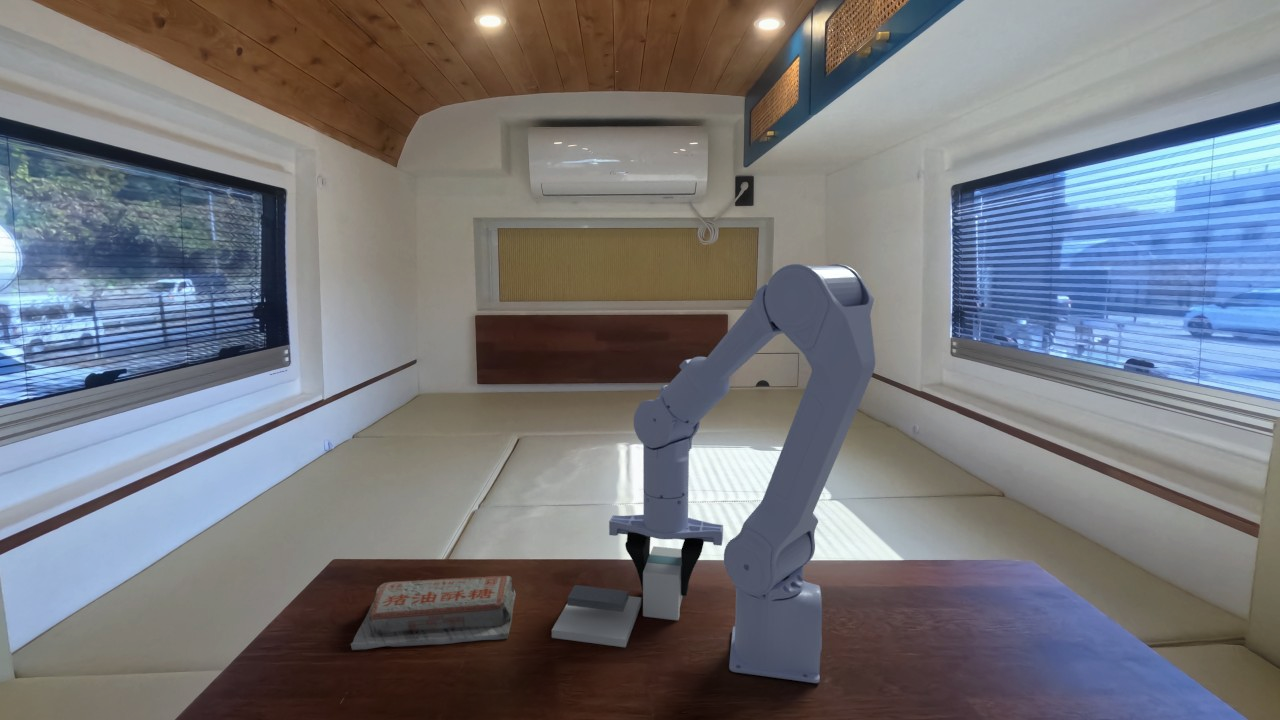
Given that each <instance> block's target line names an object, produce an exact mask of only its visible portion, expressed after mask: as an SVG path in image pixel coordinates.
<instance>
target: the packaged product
mask: <svg viewBox="0 0 1280 720" xmlns="http://www.w3.org/2000/svg"><path fill="white" fill-rule="evenodd" d="M512 580H513V579H512V577H511V575H510V576H509V575H500V576H498V575H496V576H495V575H490V576H473V577H472V576H471V577H468V576H467V577H453V578H439V579H438V578H437V579H424V580H423V579H422V580H421V579H420V580H419V579H418V580H404V581H402V580H401V581H399V580H398V581H388V582H384V583H383V582H382V584H380V585H379V586H377V588H376V593H375V596H374V598H373V601H372V604H371V606H370V608H369V609H368V612H367V614H366V615H365V618H364V620H363V621H362V622H361V625H360V627H359V628H358V630H357V632H356V634H355V635H354V637H353V641H352V642H351V643H350V646H351V650H352V651H355V650H356V651H357V650H358V651H360V650H369V649H376V648H382V647H384V648H385V647H393V648H394V647H412V646H427V645H429V646H430V645H432V646H433V645H446V644H449V645H450V644H456V643H458V644H459V643H463V642H464V643H466V642H467V643H468V642H469V643H470V642H476V641H493V640H505V639H508V638H509V634H510V629H511V625H512V620H513V610H514V605H515V599H516V591H515V589H514V588H513V587H512V586H513V583H512Z"/></svg>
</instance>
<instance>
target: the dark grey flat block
mask: <svg viewBox="0 0 1280 720" xmlns="http://www.w3.org/2000/svg"><path fill="white" fill-rule="evenodd" d="M629 594H630V593H629V590H622V589H615V588H614V589H613V588H604V587H595V586H588V585H587V586H586V585H577V584H575V585H574V586H573V588H572V590H571V591H570V593H569V594H568V596H567V598H566V599H567V602H566V604H567V603H568V605H569V606H578V607H586V608H594V609H602V610H611V611H619V612H623V611H624V608H625V606H626V603H627V601H628V599H629V596H630V595H629Z"/></svg>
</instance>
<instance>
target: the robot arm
mask: <svg viewBox="0 0 1280 720" xmlns="http://www.w3.org/2000/svg"><path fill="white" fill-rule="evenodd" d="M874 301H875V299H874V297H873V295H872V293H871V291H870V290H869V288H868V286H867V285H866V283H865V281H864V279H863V278H862V277H861V275H860V274H859V273H858V272H857V270H855V269H853V268H852V267H850V266H848V265H846V264H841V263H839V264H838V263H834V264H828V265H805V264H800V263H793V264H791V263H790V264H788V265H787V264H786V265H785V266H782V267H781V268H779V269H778V270H776V271H775V272H774V273H773V274H772V276H771V278H769V280H768V282H767V283H765V284H764V285H762V286H761V287H760V288H758V289H757V290H756V291H755V294H754V297H753V299H752V301H751V303H750V304H749V306H748V307H747V308H746V309H745V310H744V312H743V313H742V314H741V316H740V317H739V318H738V319H737V320H736V322H734V324H733V325H732V326H731V328H729V330H728V331H727V332H726V334H725V335H724V336H723V337H722V338H721V340H720V341H719V342H718V343H717V345H716V346H715V347H714V349H712V350H711V351H710V353H709V354H708V356H707V357H706V356H695V357H693V358H687V359H684V360H683V361H682V362H681V363H680V364H679V368H680V371H679V372H678V373H677V374H676V375H675V377H674V378H673V379H672V380H671V381H670V382H669V384H666V385H663V386H662V387H660V389H659V394H658V395H657V397H656V398H655V399H647V400H643V401H641V402H640V403H639V404H638V406H637V408H636V409H635V412H634V416H633V428H634V432H635V435H636V437H637V438H638V440H639V441H640V442H641V443H642V444H643V463H642V464H643V465H642V466H643V467H642V468H643V470H642V471H643V481H642V482H643V485H642V486H643V488H642V489H643V514H633V515H631V514H630V515H629V514H628V515H612V516H611V517H610V520H609V521H608V529H609V530H608V531H609V533H608V535H609V536H614V537H615V536H618V535H619V534H621V535H626V542H625V544H624V546H625V550H626V551H627V554H628V555H629V556H630V559H631V560H632V562H633V564H634V566H635V569H636V571H637V574H638V575H637V576H638V578H639V582H640V586H641V591H642V592H643V571H644V568H645V566H646V563H647V560H648V557H649V555H650V553H651V538H654V539H657V540H683V543H682V546H681V548H680V549H681V557H682V582H681V595H682V596H684V597H686V596H687V595H688V592H689V584H690V580H691V576H692V573H693V570H694V568H695V567H696V564H697V563H698V560H699V559H700V557H701V555H702V552H703V548H704V543H705V542H706V543H712V545H714V546H719V547H720V546H722V545H723V539H724V525H723V524H717V523H711V522H708V521H703V520H698V519H695V518H691V517H689V476H690V475H689V469H690V468H689V465H690V463H689V461H690V451H691V449H692V447H693V445H692V443H693V442H692V441H693V438H694V437H695V435H696V434H697V432H698V430H699V428H700V423H701V422H700V421H701V420H702V419H703V418H704V417H705V416H706V415H707V414H708V413H710V412H711V410H712V409H713V408H714V407H715V406H716V405H718V403H719V402H721V401H722V400H723V399H724V398H725V397H726V395H727V394H729V392H730V388H731V382H730V377H731V376H732V375H734V373H736V371H738V370H739V369H741V367H742V366H743V365H745V364H746V363H747V362H748V361H749V360H750V359H751V358H752V357H754V356H755V354H757V353H758V352H759V351H760V350H762V348H763V347H764V346H766V345H767V344H768V343H769V342H771V340H773V339H774V338H775V337H776V336H778V335H781V334H784V335H785V336H786V337H787V338H788V339H789V340H790V342H791V343H792V344H793V345H795V346H796V347H797V349H798V350H799V351H800V352H801V353H802V354H803V356H804V357H805V359H806V361H807V362H808V364H809V366H810V368H811V373H810V376H809V379H808V381H807V384H806V387H805V389H804V391H803V394H802V397H801V399H800V402H799V404H798V406H797V410H796V412H795V415H794V417H793V421H792V423H791V425H790V428H789V430H788V433H787V436H786V438H785V441H784V443H783V445H782V448H781V451H780V453H779V456H778V458H777V461H776V464H775V467H774V470H773V472H772V474H771V477H770V480H769V482H768V485H767V488H766V489H765V493H764V496H763V498H762V500H761V502H760V503H759V504H758V505H757V506H756V507H755V509H754V510H752V512H751V514H750V515H749V516H748V517H747V518H746V520H745V521H744V522H743V524H742V527H741V530H740V531H739V533H738V534H737V535H736V536H735V537H733V538H732V539H730V540H729V541H728V542H727V544H726V546H725V548H724V552H723V562H724V567H725V571H726V573H727V575H728V577H729V578H730V580H731V581H732V583H733V587H734V588H735V618H734V619H735V622H734V623H735V625H734V626H732V633H731V641H730V642H731V643H730V655H729V665H728V668H729V670H730V671H731V672H732V673H739V674H744V675H745V674H746V675H751V676H752V675H755V676H761V677H768V678H776V679H783V680H789V681H790V680H792V681H797V682H805V683H810V684H811V683H812V684H818V683H820V667H821V652H822V650H823V649H822V647H823V646H822V645H823V639H822V638H823V637H822V627H823V605H822V602H823V601H822V591H821V587H820V585H818V584H815V583H811V582H807V581H805V580H804V578H803V577H804V566H805V565H807V564H808V563H809V562H810V561H811V560H812V559H813V556H814V555H815V551H816V542H815V541H816V540H815V533H816V532H815V531H816V528H817V526H818V523H819V519H818V517H817V516H816V515H815V514H814V512H815V509H816V507H817V505H818V503H819V500H820V497H821V495H822V493H823V490H824V488H825V486H826V484H827V481H828V479H829V477H830V475H831V471H832V469H833V467H834V464H835V462H836V460H837V457H838V455H839V453H840V451H841V448H842V446H843V444H844V441H845V439H846V437H847V435H848V432H849V430H850V427H851V425H852V422H853V421H854V418H855V415H856V413H857V411H858V409H859V406H860V405H861V402H862V400H863V397H864V395H865V393H866V390H867V388H868V386H869V383H870V381H871V378H872V376H873V373H874V371H875V368H876V367H875V366H876V356H875V355H876V354H875V353H876V352H875V345H874V335H873V329H872V321H871V311H872V309H873V305H874Z"/></svg>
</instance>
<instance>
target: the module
mask: <svg viewBox="0 0 1280 720" xmlns="http://www.w3.org/2000/svg"><path fill="white" fill-rule="evenodd" d="M681 549H682V548H676V547H675V548H674V547H666V546H665V547H664V546H655V545H654V546H652V548H651V550H650V555H649V557H648V560H647V563H646V566H645V568H644V571H643V591H642V616H643V617H647V618H655V619H661V620H662V619H663V620H671V621H679V619H680V615H681V614H680V612H681V611H680V609H681V604H682V600H683V596H682V595H681V582H682V557H681Z"/></svg>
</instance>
